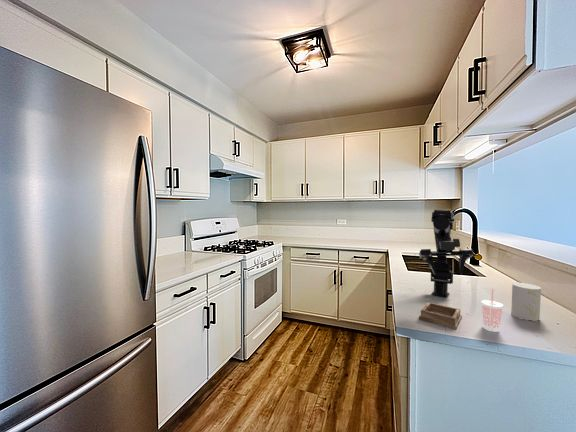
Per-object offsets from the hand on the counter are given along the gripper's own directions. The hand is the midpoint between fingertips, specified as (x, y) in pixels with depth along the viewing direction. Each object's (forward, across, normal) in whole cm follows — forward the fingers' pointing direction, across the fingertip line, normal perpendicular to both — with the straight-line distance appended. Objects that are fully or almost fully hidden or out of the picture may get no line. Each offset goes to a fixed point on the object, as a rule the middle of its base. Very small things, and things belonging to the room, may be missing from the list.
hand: (448, 274), depth 106 cm
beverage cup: (+19, +10, -4) cm, 22 cm away
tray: (+17, -5, -2) cm, 18 cm away
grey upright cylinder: (+14, +26, +11) cm, 31 cm away
